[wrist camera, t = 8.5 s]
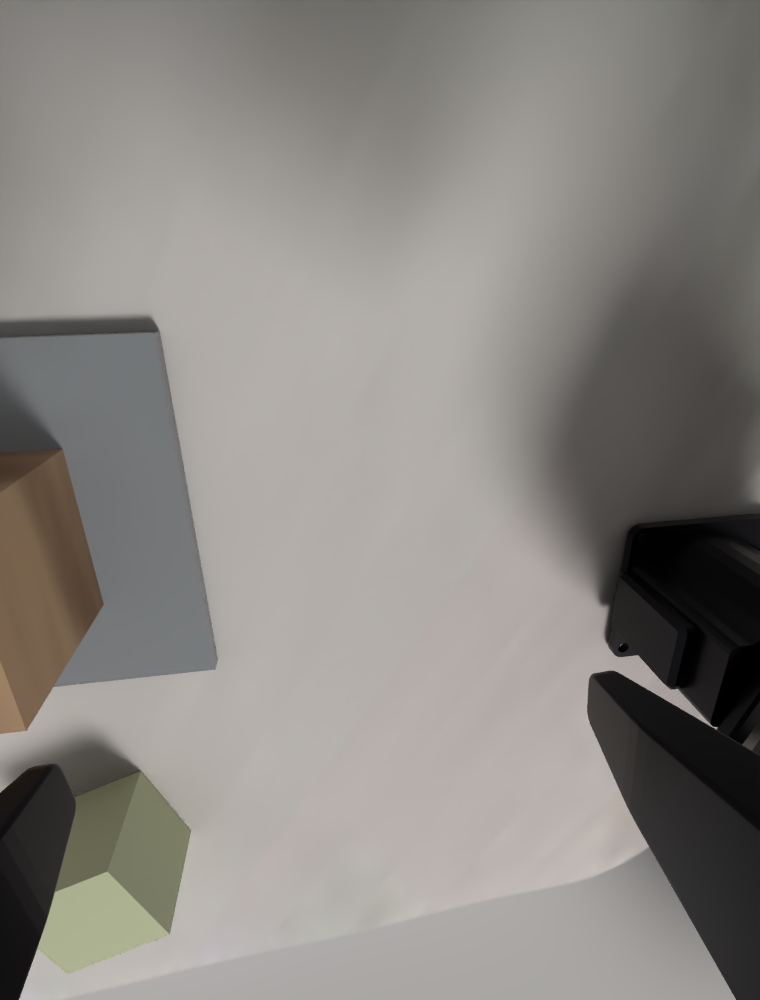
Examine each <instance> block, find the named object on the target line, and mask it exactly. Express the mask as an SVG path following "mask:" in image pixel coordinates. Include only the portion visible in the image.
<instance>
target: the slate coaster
mask: <svg viewBox="0 0 760 1000" xmlns="http://www.w3.org/2000/svg"><path fill="white" fill-rule="evenodd" d="M55 449H63V452H64V456H65V459H66V463H67V467H68V471H69V475H70V478H71V482H72V486H73V490H74V493H75V497H76V501H77V505H78V509H79V512H80V516H81V520H82V524H83V527H84V531H85V535H86V539H87V543H88V546H89V550H90V554H91V558H92V561H93V565H94V569H95V573H96V577H97V580H98V584H99V588H100V592H101V595H102V599H103V603H104V605H103V607H102V608H101V610H100V612H99V613H98V615H97V617H96V618H95V620H94V621H93V623H92V625H91V626H90V628H89V630H88V631H87V633H86V634H85V636H84V638H83V639H82V641H81V643H80V644H79V646H78V647H77V649H76V651H75V652H74V654H73V656H72V657H71V659H70V660H69V662H68V664H67V665H66V667H65V669H64V670H63V672H62V674H61V675H60V677H59V678H58V680H57V682H56V683H55V685H54V687H57V686H66V685H75V684H85V683H94V682H103V681H112V680H122V679H131V678H140V677H149V676H159V675H168V674H177V673H187V672H196V671H205V670H214V669H216V665H217V660H218V659H217V653H216V647H215V642H214V636H213V630H212V625H211V619H210V614H209V608H208V602H207V597H206V591H205V585H204V580H203V574H202V568H201V563H200V557H199V551H198V546H197V540H196V535H195V529H194V523H193V518H192V512H191V506H190V501H189V495H188V489H187V484H186V478H185V473H184V467H183V461H182V456H181V450H180V444H179V439H178V433H177V427H176V422H175V416H174V410H173V405H172V399H171V394H170V388H169V382H168V377H167V371H166V365H165V360H164V354H163V348H162V343H161V337H160V332H159V331H150V332H122V333H94V334H67V335H39V336H11V337H0V453H3V452H20V451H38V450H55Z"/></svg>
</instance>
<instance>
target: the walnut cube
mask: <svg viewBox="0 0 760 1000" xmlns="http://www.w3.org/2000/svg"><path fill="white" fill-rule="evenodd" d="M103 605H104V603H103V599H102V595H101V592H100V588H99V584H98V580H97V577H96V573H95V569H94V565H93V561H92V558H91V554H90V550H89V546H88V543H87V539H86V535H85V531H84V527H83V524H82V520H81V516H80V512H79V509H78V505H77V501H76V497H75V493H74V490H73V486H72V482H71V478H70V475H69V471H68V467H67V463H66V459H65V456H64V452H63V449H55V450H38V451H20V452H3V453H0V734H2V733H11V732H20V731H26V730H27V729H28V727H29V726H30V724H31V722H32V721H33V719H34V717H35V716H36V714H37V713H38V711H39V709H40V708H41V706H42V704H43V703H44V701H45V700H46V698H47V696H48V695H49V693H50V691H51V690H52V688H53V687H54V685H55V683H56V682H57V680H58V678H59V677H60V675H61V674H62V672H63V670H64V669H65V667H66V665H67V664H68V662H69V660H70V659H71V657H72V656H73V654H74V652H75V651H76V649H77V647H78V646H79V644H80V643H81V641H82V639H83V638H84V636H85V634H86V633H87V631H88V630H89V628H90V626H91V625H92V623H93V621H94V620H95V618H96V617H97V615H98V613H99V612H100V610H101V608H102V607H103Z"/></svg>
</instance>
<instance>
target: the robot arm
mask: <svg viewBox="0 0 760 1000" xmlns="http://www.w3.org/2000/svg"><path fill="white" fill-rule="evenodd" d="M642 534H644V536H643V537H642V538H641V539H639V536H641V535H642ZM638 539H639V540H638ZM611 625H612V626H611V631H610V637H609V643H608V646H609V648H610V650H611V651H612V652H613V653H614V655H616V656H618V657H625V656H634V655H639V656H640V658H641V659H642V660H643V661H644V662H645V663H646V664H647V665H648V666H649V668H650V669H651V670H652V671H653V672H654V673H655V674H656V675H657V677H658V678H659V679H660V680H661V681H662V682H663V683H664V684H665V685H666V686H667V687H668V688H670V689H679V691H680V692H681V693H682V694H683V695H684V696H685V697H686V698H687V699H688V700H689V701H690V703H691V704H692V705H693V706H694V707H695V708H696V709H697V710H698V711H699V712H700V713H701V714H702V716H703V717H704V718H705V719H706V720H707V721H708V722H709V723H710V724H711V725H712V726H713V727H718V728H717V730H716V729H714V728H712V727H711V726H709V725H707V724H706V723H704V722H702V721H700V720H699V719H697V718H695V717H694V716H692V715H690V714H688V713H687V712H685V711H683V710H682V709H680V708H678V707H676V706H675V705H673V704H671V703H670V702H668V701H666V700H664V699H663V698H661V697H659V696H658V695H656V694H654V693H652V692H651V691H649V690H647V689H646V688H644V687H642V686H640V685H639V684H637V683H635V682H634V681H632V680H630V679H628V678H627V677H625V676H623V675H621V674H620V673H618V672H616V671H605V672H599V673H594V674H592V675H591V676H590V678H589V687H588V704H587V713H588V718H589V721H590V724H591V727H592V729H593V731H594V733H595V736H596V738H597V740H598V742H599V745H600V747H601V749H602V751H603V754H604V756H605V758H606V760H607V763H608V765H609V767H610V769H611V772H612V774H613V776H614V778H615V781H616V783H617V785H618V787H619V790H620V792H621V794H622V796H623V798H624V801H625V803H626V805H627V807H628V809H629V811H630V813H631V815H632V817H633V819H634V820H635V822H636V824H637V826H638V828H639V830H640V831H641V833H642V835H643V837H644V838H645V840H646V842H647V844H648V845H649V847H650V849H651V851H652V852H653V854H654V856H655V857H656V859H657V861H658V863H659V865H660V866H661V868H662V870H663V872H664V874H665V875H666V877H667V879H668V881H669V882H670V884H671V886H672V887H673V889H674V891H675V893H676V895H677V896H678V898H679V900H680V902H681V903H682V905H683V907H684V908H685V910H686V912H687V914H688V916H689V918H690V919H691V921H692V923H693V924H694V926H695V928H696V930H697V931H698V933H699V935H700V937H701V939H702V940H703V942H704V944H705V946H706V947H707V949H708V951H709V952H710V954H711V956H712V958H713V960H714V961H715V963H716V965H717V967H718V969H719V970H720V972H721V974H722V975H723V977H724V979H725V981H726V983H727V984H728V986H729V988H730V989H731V991H732V993H733V995H734V997H735V998H736V1000H760V514H750V515H738V516H726V517H714V518H703V519H691V520H679V521H667V522H655V523H644V524H638V525H635V526H634V527H632V528H631V529H630V530H629V532H628V535H627V539H626V545H625V551H624V556H623V562H622V568H621V574H620V576H619V578H618V584H617V590H616V595H615V601H614V607H613V613H612V619H611ZM621 644H622V645H621ZM620 645H621V646H620ZM75 812H76V800H75V796H74V794H73V792H72V790H71V788H70V785H69V783H68V781H67V779H66V777H65V775H64V773H63V770H62V769H61V767H60V766H59V765H57V764H48V765H42V766H36V767H32V768H29V769H28V770H26V771H25V772H24V773H22V774H21V775H20V776H19V777H18V778H17V779H16V780H14V781H13V782H12V783H11V784H10V785H9V786H7V787H6V788H5V789H4V790H3V791H2V792H1V793H0V1000H19V998H20V995H21V992H22V990H23V987H24V984H25V981H26V978H27V976H28V973H29V970H30V967H31V964H32V962H33V959H34V956H35V953H36V951H37V948H38V945H39V942H40V939H41V937H42V934H43V931H44V928H45V925H46V922H47V919H48V915H49V912H50V908H51V905H52V901H53V898H54V894H55V890H56V886H57V882H58V878H59V874H60V871H61V867H62V863H63V859H64V855H65V851H66V847H67V843H68V840H69V836H70V832H71V828H72V824H73V820H74V816H75Z"/></svg>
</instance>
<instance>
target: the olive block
mask: <svg viewBox="0 0 760 1000" xmlns="http://www.w3.org/2000/svg"><path fill="white" fill-rule="evenodd" d="M75 800H76V812H75V816H74V820H73V824H72V828H71V832H70V836H69V840H68V843H67V847H66V851H65V855H64V859H63V863H62V867H61V871H60V874H59V878H58V882H57V886H56V890H55V894H54V898H53V901H52V905H51V908H50V912H49V915H48V919H47V922H46V925H45V928H44V931H43V934H42V937H41V939H40V942H39V945H38V948H37V949H38V950H39V951H41V952H42V953H43V954H44V955H45V956H47V957H48V958H49V959H50V960H51V961H53V962H54V963H55V964H56V965H57V966H59V967H60V968H61V969H62V970H64V971H65V972H66V973H67V974H70V973H72V972H75V971H78V970H80V969H83V968H85V967H88V966H90V965H93V964H95V963H98V962H101V961H103V960H106V959H108V958H111V957H113V956H116V955H118V954H121V953H124V952H126V951H129V950H131V949H134V948H136V947H139V946H141V945H144V944H147V943H149V942H152V941H154V940H157V939H159V938H162V937H164V936H167V935H170V930H171V926H172V921H173V916H174V911H175V906H176V901H177V896H178V892H179V887H180V882H181V877H182V872H183V867H184V862H185V857H186V853H187V848H188V843H189V838H190V833H191V830H190V828H189V827H188V826H187V825H186V824H185V822H184V821H183V820H182V819H181V818H180V816H179V815H178V814H177V813H176V812H175V810H174V809H173V808H172V807H171V806H170V804H169V803H168V802H167V801H166V800H165V799H164V797H163V796H162V795H161V794H160V793H159V791H158V790H157V789H156V788H155V787H154V785H153V784H152V783H151V782H150V781H149V779H148V778H147V777H146V776H145V775H144V773H143V772H142V771H138V772H136V773H133V774H131V775H128V776H126V777H123V778H121V779H118V780H116V781H113V782H111V783H108V784H106V785H103V786H101V787H98V788H96V789H93V790H91V791H88V792H86V793H83V794H81V795H78V796H76V797H75Z"/></svg>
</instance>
